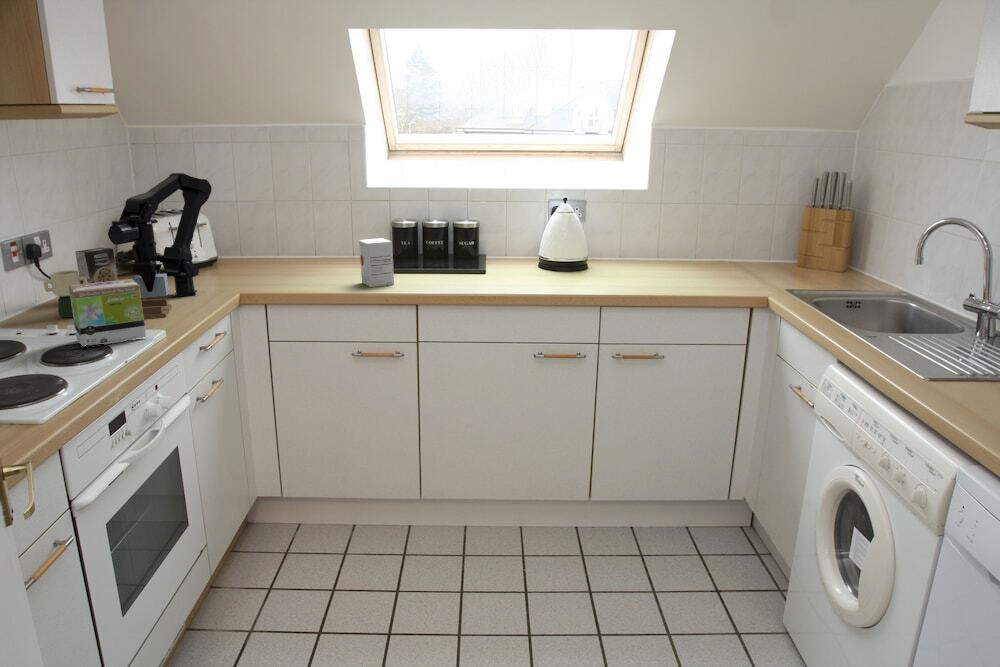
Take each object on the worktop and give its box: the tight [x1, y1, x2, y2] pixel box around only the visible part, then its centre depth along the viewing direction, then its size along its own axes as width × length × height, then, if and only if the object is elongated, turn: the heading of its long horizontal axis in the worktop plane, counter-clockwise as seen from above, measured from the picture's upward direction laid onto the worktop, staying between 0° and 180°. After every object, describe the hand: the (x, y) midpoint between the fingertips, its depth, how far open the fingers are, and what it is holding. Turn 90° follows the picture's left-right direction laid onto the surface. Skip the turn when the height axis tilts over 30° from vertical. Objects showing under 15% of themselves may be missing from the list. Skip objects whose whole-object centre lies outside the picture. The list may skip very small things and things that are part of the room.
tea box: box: [69, 278, 147, 347], centre depth 190 cm, size 15×10×15 cm, turn 126°
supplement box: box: [358, 237, 395, 288], centre depth 253 cm, size 9×9×15 cm
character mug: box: [43, 270, 88, 318], centre depth 215 cm, size 11×7×13 cm, turn 118°
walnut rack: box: [141, 298, 172, 320], centre depth 217 cm, size 12×14×3 cm
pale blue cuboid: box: [131, 273, 170, 298], centre depth 228 cm, size 5×9×6 cm, turn 106°
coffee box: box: [74, 247, 119, 284], centre depth 235 cm, size 9×6×16 cm
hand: (151, 290), depth 229 cm, fingers closed on pale blue cuboid, 5 cm apart
